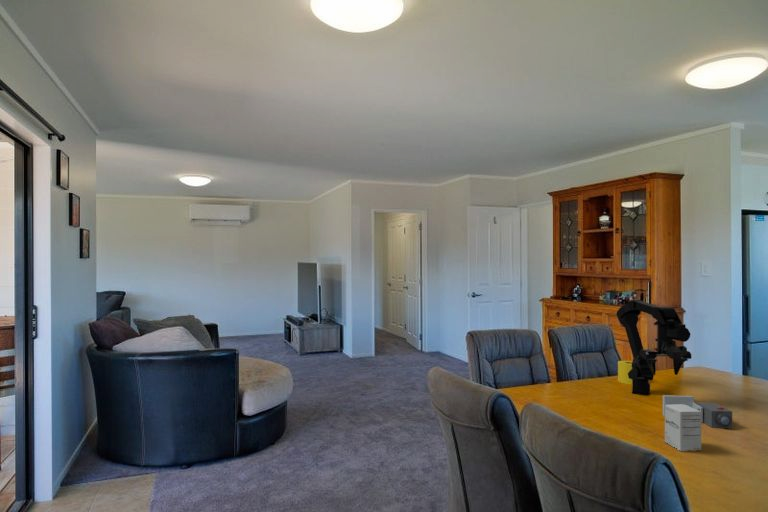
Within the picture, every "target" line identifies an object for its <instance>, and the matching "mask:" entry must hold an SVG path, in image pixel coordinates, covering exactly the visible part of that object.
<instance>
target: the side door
mask: <svg viewBox="0 0 768 512" xmlns="http://www.w3.org/2000/svg"><path fill="white" fill-rule="evenodd" d="M672 404H685V405H687V406H690V407H692V408H694V409H696V410H699V411H701V424H702V423H703V407H701V406H699V405H697V404H695V396H693V395H669V394H668V395H665V394H663V395H662V416H663V417H664V418H665V405H672ZM703 424H704V423H703Z"/></svg>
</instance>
